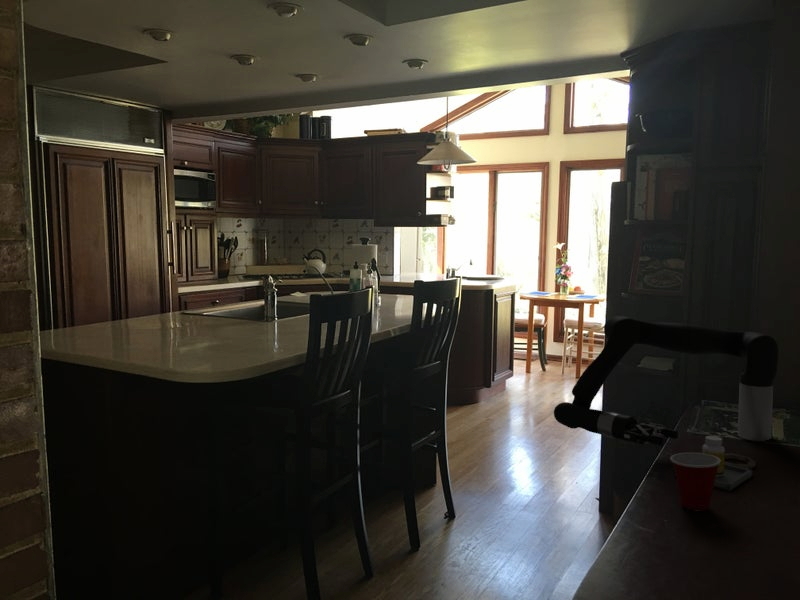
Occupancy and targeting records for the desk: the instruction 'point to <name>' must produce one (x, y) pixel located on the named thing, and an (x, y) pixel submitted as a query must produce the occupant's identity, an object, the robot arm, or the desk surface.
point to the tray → (731, 477)
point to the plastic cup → (695, 478)
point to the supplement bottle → (715, 451)
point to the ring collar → (743, 458)
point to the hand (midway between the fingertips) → (670, 438)
